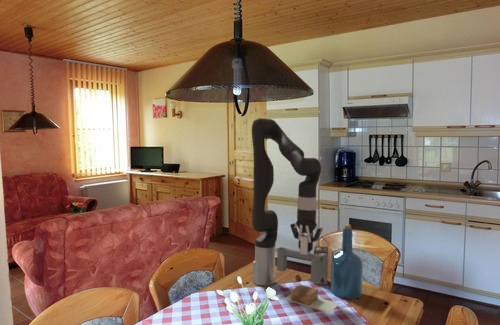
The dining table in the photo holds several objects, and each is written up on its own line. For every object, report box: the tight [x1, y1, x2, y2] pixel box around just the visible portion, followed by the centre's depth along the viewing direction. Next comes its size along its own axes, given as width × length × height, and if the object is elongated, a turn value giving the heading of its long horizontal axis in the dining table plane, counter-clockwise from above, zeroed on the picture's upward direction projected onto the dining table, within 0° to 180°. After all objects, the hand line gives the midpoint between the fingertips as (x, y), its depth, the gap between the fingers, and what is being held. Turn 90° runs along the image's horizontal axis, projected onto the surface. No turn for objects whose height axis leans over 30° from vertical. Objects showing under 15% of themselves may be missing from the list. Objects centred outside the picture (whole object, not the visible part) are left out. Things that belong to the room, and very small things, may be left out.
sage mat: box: [283, 293, 340, 314], centre depth 143 cm, size 20×10×1 cm, turn 56°
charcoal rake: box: [276, 234, 326, 284], centre depth 145 cm, size 19×10×16 cm, turn 56°
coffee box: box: [312, 245, 329, 286], centre depth 165 cm, size 9×6×16 cm
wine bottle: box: [330, 224, 364, 300], centre depth 152 cm, size 14×13×30 cm
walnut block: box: [290, 284, 319, 306], centre depth 144 cm, size 8×8×4 cm
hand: (305, 250), depth 144 cm, fingers closed on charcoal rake, 3 cm apart
